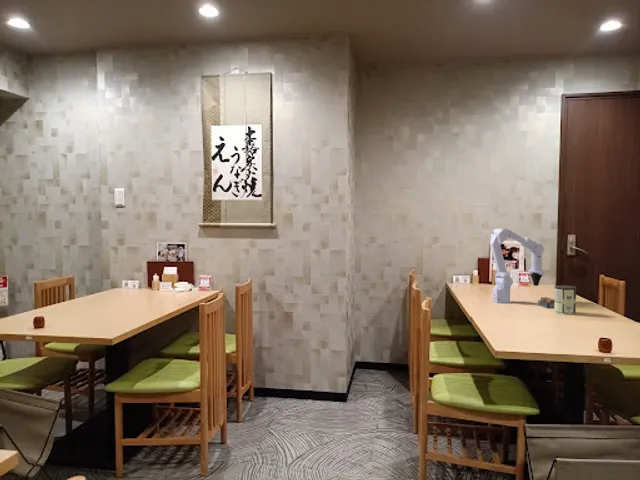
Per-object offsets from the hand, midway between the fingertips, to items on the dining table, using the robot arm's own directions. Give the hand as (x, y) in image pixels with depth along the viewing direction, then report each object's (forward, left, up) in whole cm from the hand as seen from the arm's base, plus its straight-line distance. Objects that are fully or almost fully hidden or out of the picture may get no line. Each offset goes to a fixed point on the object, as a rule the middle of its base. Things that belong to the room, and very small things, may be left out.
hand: (535, 285), depth 289 cm
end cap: (-2, -19, -9) cm, 21 cm away
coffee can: (-4, -37, -10) cm, 38 cm away
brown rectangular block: (-2, -18, -10) cm, 20 cm away
